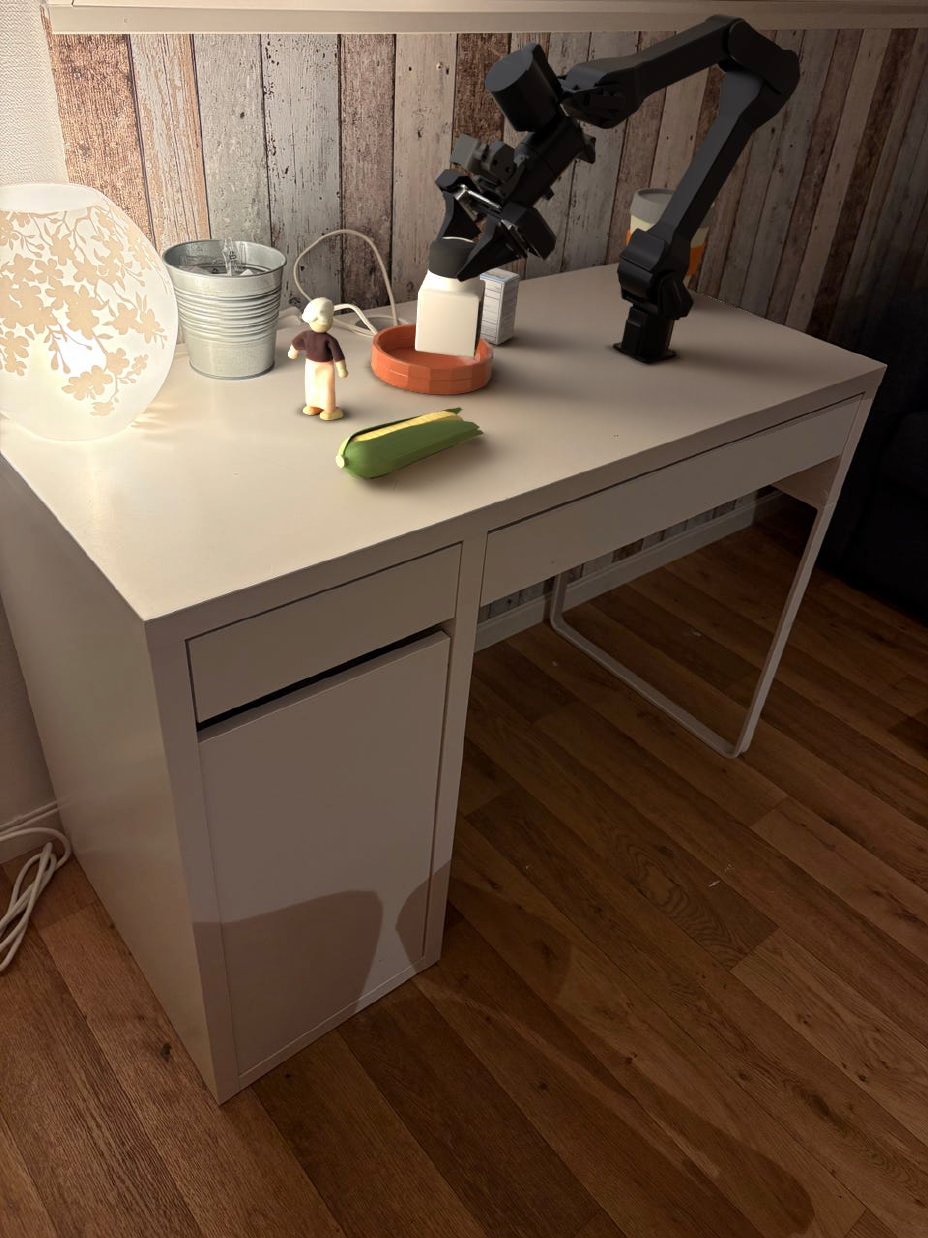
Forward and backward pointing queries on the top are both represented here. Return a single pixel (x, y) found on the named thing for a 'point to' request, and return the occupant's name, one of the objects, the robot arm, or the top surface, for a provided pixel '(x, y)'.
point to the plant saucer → (427, 364)
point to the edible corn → (403, 443)
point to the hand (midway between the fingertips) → (443, 270)
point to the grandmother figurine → (320, 359)
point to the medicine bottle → (449, 302)
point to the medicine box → (499, 305)
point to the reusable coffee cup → (648, 213)
